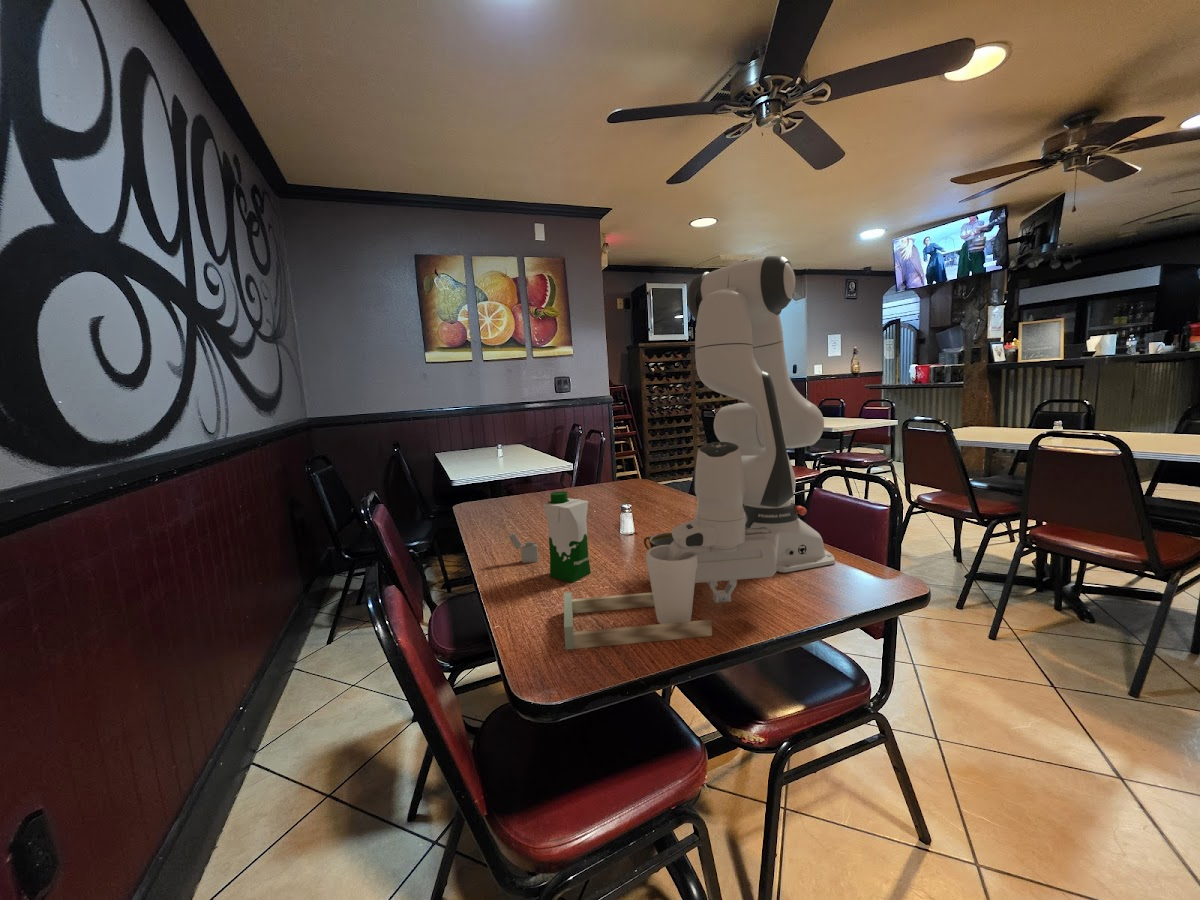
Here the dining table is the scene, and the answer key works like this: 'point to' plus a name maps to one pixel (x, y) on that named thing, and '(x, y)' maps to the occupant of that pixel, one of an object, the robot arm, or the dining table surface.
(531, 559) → the lighter
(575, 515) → the milk carton
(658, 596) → the foam cup
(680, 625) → the guide channel
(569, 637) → the stop block
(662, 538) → the ceramic cup
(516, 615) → the dining table surface
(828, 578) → the dining table surface
